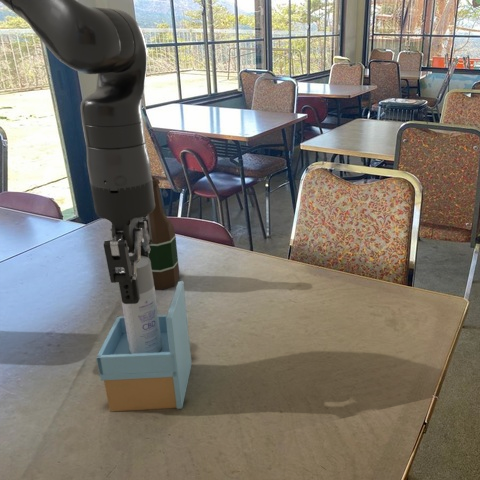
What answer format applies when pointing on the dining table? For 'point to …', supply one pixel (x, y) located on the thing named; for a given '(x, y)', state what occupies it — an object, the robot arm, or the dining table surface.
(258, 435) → the dining table surface
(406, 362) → the dining table surface
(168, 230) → the beer bottle
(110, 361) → the blue and tan box
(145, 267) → the container
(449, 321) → the dining table surface
